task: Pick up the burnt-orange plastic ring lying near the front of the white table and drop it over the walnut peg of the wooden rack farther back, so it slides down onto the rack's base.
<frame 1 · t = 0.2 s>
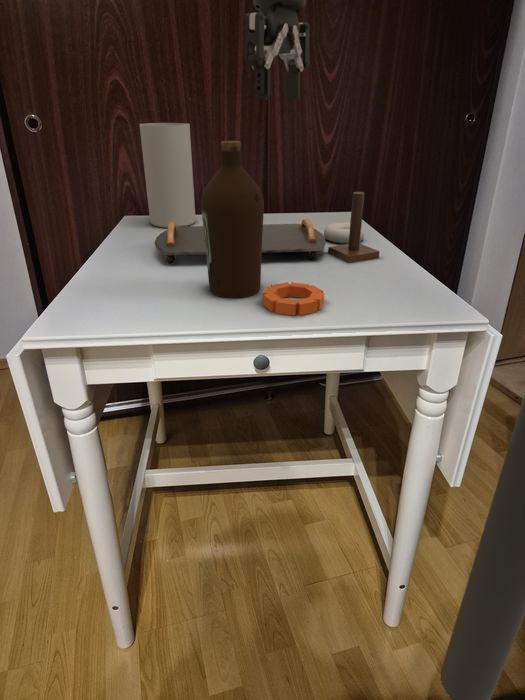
hand: (278, 99, 75), 31 cm above the table, tool pointing down, fingers open, 8 cm apart
donut: (343, 240, 119), on the table
rack: (353, 255, 107), on the table
serving tray: (241, 249, 112), on the table
olive oil: (234, 289, 89), on the table
ring: (292, 303, 83), on the table
cylinder vase: (173, 223, 135), on the table
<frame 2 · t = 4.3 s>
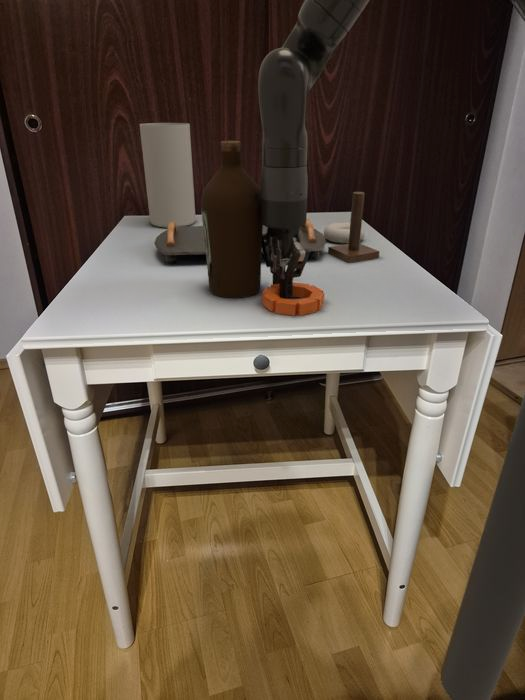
hand: (282, 295, 86), 0 cm above the table, tool pointing down, fingers closed on ring, 2 cm apart
olive oil: (234, 289, 89), on the table, touching hand
ring: (292, 303, 83), on the table, touching gripper
everything else where it was.
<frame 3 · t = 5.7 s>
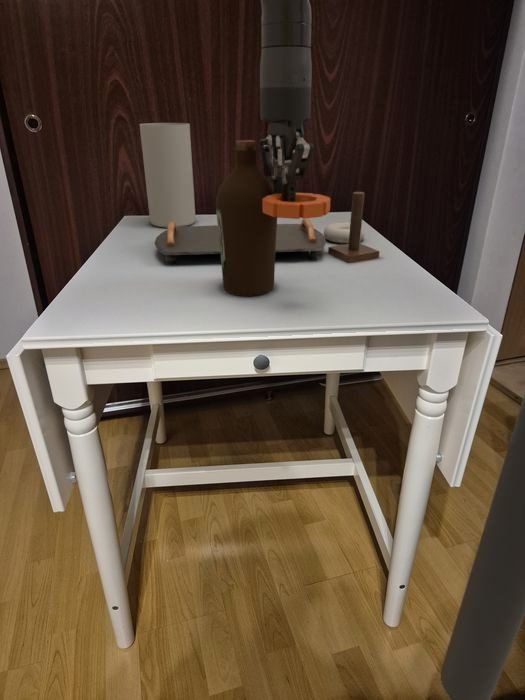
hand: (284, 206, 78), 16 cm above the table, tool pointing down, fingers closed on ring
olive oil: (248, 288, 90), on the table, touching gripper
ring: (296, 211, 75), point 16 cm above the table, touching gripper
everything else where it was.
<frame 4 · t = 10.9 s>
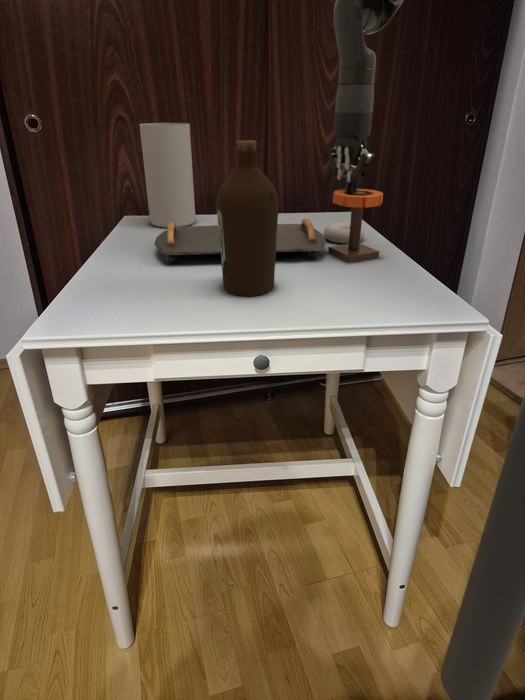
hand: (346, 198, 105), 12 cm above the table, tool pointing down, fingers closed on ring
olive oil: (248, 288, 90), on the table
ring: (357, 202, 102), point 11 cm above the table, touching gripper
everything else where it was.
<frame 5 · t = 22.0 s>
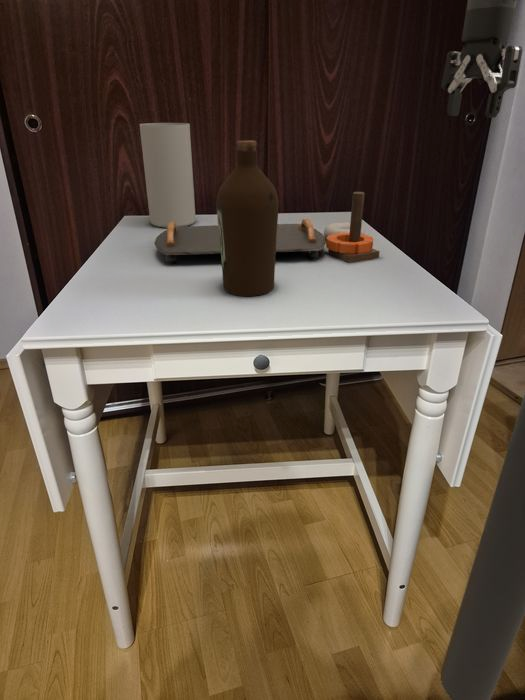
hand: (470, 116, 87), 28 cm above the table, tool pointing down, fingers open, 8 cm apart
ring: (349, 247, 108), point 1 cm above the table, touching rack
everything else where it was.
at the end: ring 1.6 cm off-centre on the rack, point 1.5 cm above the rack's base; the gripper is holding nothing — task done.
